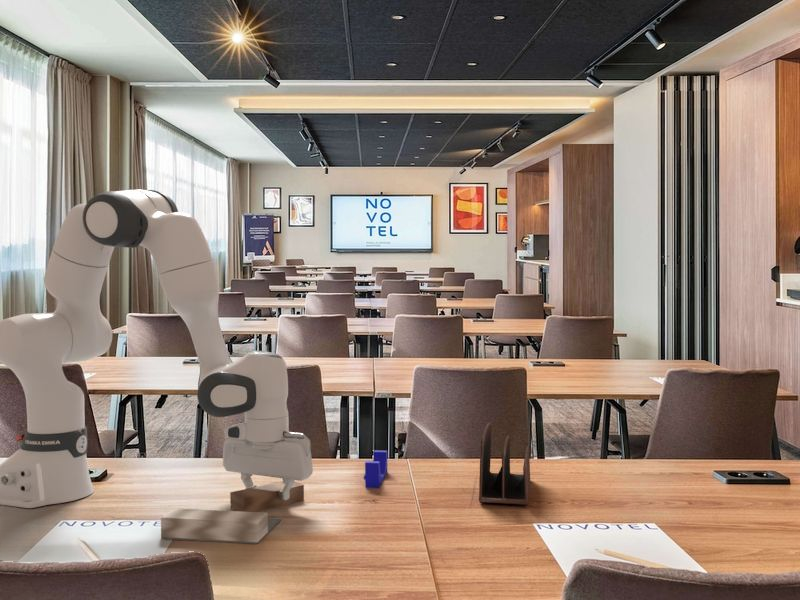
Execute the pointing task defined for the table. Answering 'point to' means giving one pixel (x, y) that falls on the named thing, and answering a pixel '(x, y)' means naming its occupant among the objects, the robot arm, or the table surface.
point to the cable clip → (376, 469)
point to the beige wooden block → (214, 525)
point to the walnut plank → (264, 497)
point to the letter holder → (502, 475)
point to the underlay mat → (271, 524)
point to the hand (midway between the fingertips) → (267, 496)
